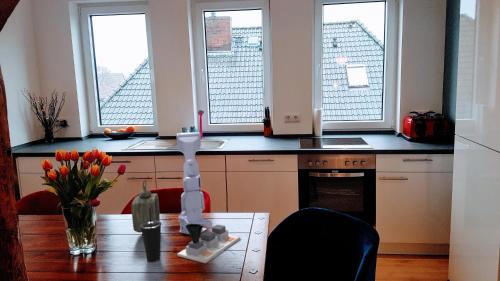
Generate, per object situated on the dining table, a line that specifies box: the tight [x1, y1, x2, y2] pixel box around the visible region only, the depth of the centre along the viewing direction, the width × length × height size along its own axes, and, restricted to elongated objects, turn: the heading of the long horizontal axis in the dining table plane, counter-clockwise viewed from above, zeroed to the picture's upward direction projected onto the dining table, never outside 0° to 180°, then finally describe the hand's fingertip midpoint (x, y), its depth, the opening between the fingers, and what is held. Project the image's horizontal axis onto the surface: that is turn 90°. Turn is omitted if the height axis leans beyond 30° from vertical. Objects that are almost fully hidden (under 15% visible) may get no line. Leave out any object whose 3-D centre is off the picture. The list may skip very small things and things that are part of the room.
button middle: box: [200, 230, 215, 241], centre depth 154 cm, size 4×4×3 cm
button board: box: [177, 229, 241, 264], centre depth 154 cm, size 13×24×4 cm, turn 149°
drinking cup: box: [140, 208, 163, 263], centre depth 144 cm, size 8×8×20 cm
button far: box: [211, 224, 227, 234], centre depth 160 cm, size 4×4×3 cm
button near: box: [188, 240, 204, 249], centre depth 148 cm, size 4×4×3 cm
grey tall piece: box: [131, 178, 161, 238], centre depth 165 cm, size 14×9×25 cm, turn 6°
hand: (195, 242), depth 147 cm, fingers closed, pressing on button near
